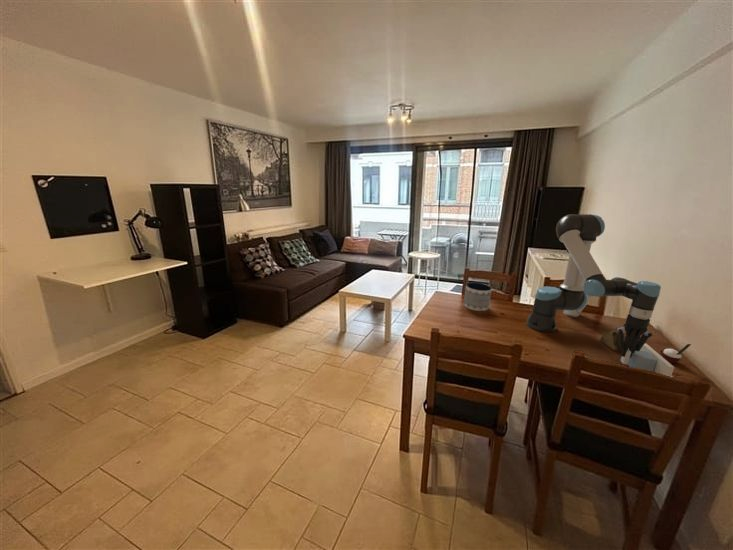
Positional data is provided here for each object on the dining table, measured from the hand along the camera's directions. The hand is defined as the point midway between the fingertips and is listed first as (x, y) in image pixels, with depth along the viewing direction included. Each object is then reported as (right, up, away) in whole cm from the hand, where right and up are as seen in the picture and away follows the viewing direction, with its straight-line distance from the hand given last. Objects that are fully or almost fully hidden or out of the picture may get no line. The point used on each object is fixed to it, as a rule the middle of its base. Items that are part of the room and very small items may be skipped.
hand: (623, 362), depth 139 cm
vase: (+13, +15, +55) cm, 58 cm away
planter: (-46, +19, +62) cm, 80 cm away
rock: (+8, +3, +17) cm, 20 cm away
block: (+6, -2, -1) cm, 6 cm away
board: (+13, -3, -3) cm, 13 cm away
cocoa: (+26, -1, +5) cm, 27 cm away
